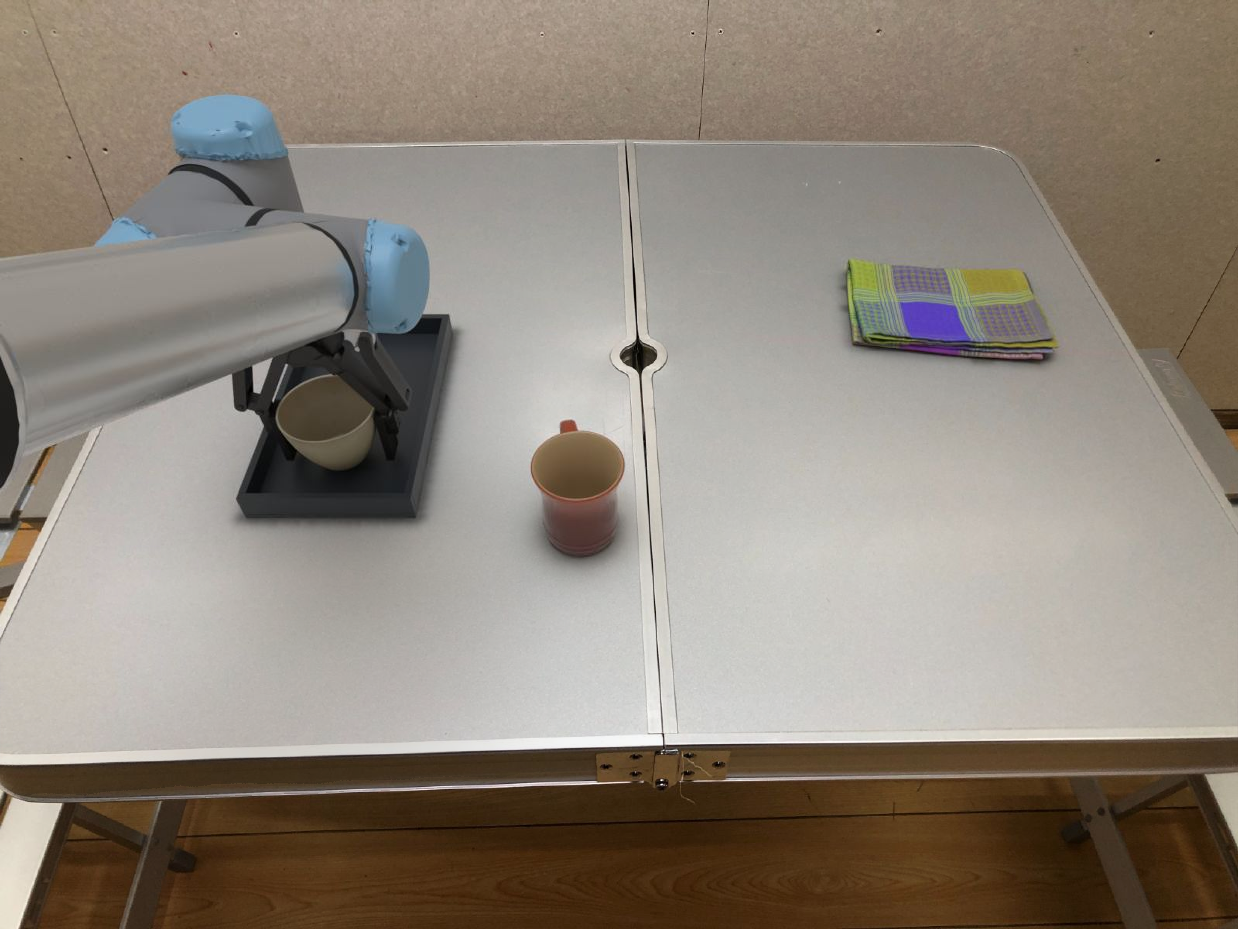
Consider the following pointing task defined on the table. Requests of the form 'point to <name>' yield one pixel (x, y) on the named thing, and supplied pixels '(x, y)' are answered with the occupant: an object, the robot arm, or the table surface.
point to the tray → (375, 480)
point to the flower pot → (327, 422)
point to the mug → (578, 488)
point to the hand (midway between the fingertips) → (343, 451)
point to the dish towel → (947, 311)
